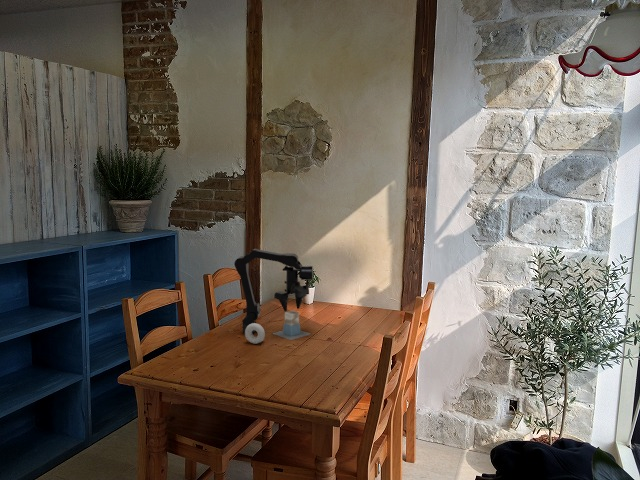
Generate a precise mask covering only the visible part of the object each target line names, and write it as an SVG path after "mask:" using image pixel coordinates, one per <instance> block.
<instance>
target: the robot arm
mask: <svg viewBox="0 0 640 480" xmlns="http://www.w3.org/2000/svg"><path fill="white" fill-rule="evenodd" d="M255 259H261V260H267V261H272V262H278V263H280V264H282V265H284V267H283V268H282V271H286V272H285V273H286V277H285V279H286V280H285V281H284V284H286V285H285V287H286V289H284V291H277V292H274V295H273V296H274V297H273V298H274V299H276V300H278V302H279V303H280V304H281V306H282V309H283V311H284V313H285V312H287V311H288V302H289V300H290V299H289V297H291V296H294V298H295V307H296V309H297V310H300V307H301V304H302V302H303V299H304V298H306V297H308V296H307V295H310V289H309V285H308V284H305V285H301V282H300V281H299V279H301V281H303V280H305V281H313V280H314V270H313V269H314V267H313V266H312V265H307V266H306V265H303V264H302V263H301V262H300V260H299V256H298V255H297V254H296V253H289V252H287V253H278V252H273V251H267V250H263V249H258V248H254V249H253V250H251V251H250V252H248V253H247V254H246V255H243V256H239V257H238V258H236V259H235V261H234V262H233V264H234V268H235V270H236V272H237V274H238V276H239V278H240V281H241V286H242V291H243V293H244V298H245V302H246V305H245V306H246V307H245V308H246V309H245V311H246V312H245V316H243V319H242V334H244V335H245V330H246V328H247V326H248V325H249V324H252V323H257V321H256V320H258V319H259V317H260V315H261V312H262V309H261V307H260V302H256V301H255V297H254V293H253V292H254V291H253V287H252V284H251V280H250V279H251V278H250V274H249V268H250V267H249V264H250V262H252V261H253V260H255ZM255 333H257V331H255V330H253V331H252V334H253V335H254V334H255Z"/></svg>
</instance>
